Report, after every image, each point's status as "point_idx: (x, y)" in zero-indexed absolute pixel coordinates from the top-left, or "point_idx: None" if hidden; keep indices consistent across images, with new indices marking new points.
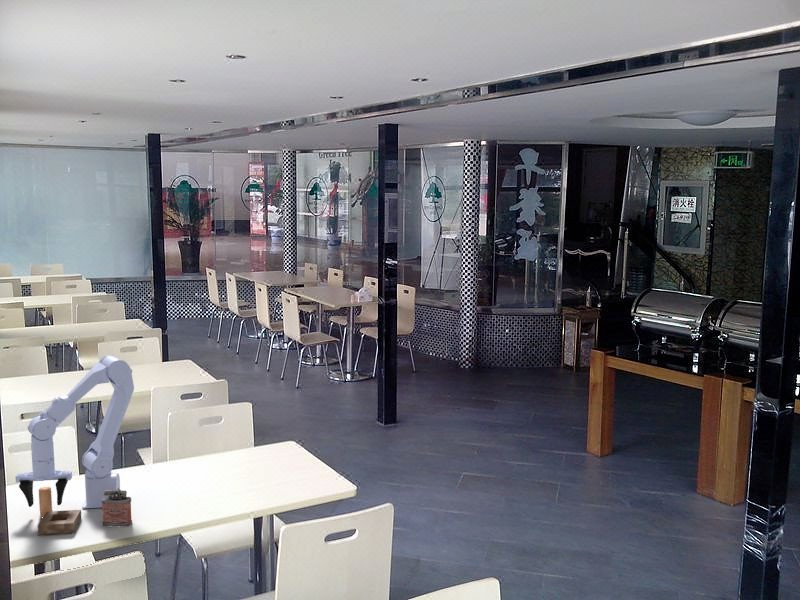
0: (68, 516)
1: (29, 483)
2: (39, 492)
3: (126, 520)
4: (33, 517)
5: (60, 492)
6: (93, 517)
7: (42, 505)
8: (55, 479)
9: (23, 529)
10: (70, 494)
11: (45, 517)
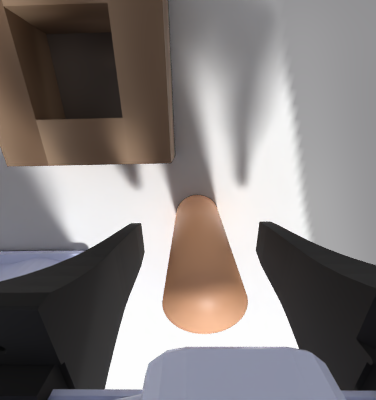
0: (21, 72)
1: (360, 352)
2: (234, 270)
3: None
4: (239, 203)
5: (81, 255)
6: (11, 175)
7: (206, 217)
8: (83, 396)
9: (255, 84)
10: (169, 343)
11: (151, 75)
